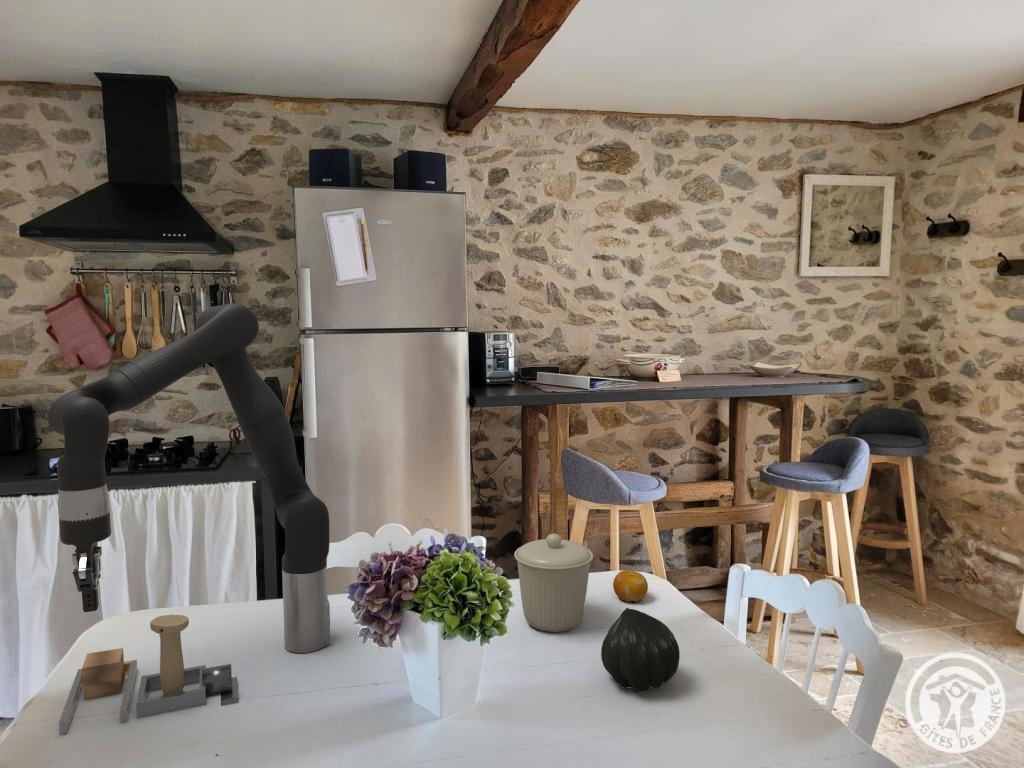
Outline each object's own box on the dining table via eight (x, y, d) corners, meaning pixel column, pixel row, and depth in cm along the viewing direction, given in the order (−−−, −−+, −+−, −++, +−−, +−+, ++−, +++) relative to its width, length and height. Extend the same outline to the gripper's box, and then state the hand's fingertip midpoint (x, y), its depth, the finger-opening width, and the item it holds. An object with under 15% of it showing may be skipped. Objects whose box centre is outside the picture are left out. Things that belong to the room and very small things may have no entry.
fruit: (639, 596, 172) (635, 563, 176) (608, 601, 176) (605, 569, 180) (655, 602, 178) (651, 570, 181) (624, 607, 182) (621, 575, 186)
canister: (596, 641, 156) (597, 547, 154) (513, 640, 156) (513, 547, 154) (588, 606, 174) (589, 522, 172) (514, 606, 174) (514, 522, 172)
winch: (236, 679, 140) (235, 652, 139) (238, 705, 131) (237, 676, 130) (142, 696, 133) (141, 668, 133) (137, 725, 124) (136, 695, 124)
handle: (181, 707, 128) (177, 627, 126) (148, 704, 129) (144, 625, 127) (197, 693, 133) (193, 615, 131) (165, 690, 134) (161, 613, 132)
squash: (703, 670, 133) (671, 593, 140) (634, 690, 127) (604, 608, 135) (670, 690, 143) (641, 617, 151) (605, 709, 138) (579, 632, 146)
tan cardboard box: (125, 677, 138) (123, 647, 137) (121, 692, 132) (120, 661, 132) (88, 683, 135) (86, 653, 135) (83, 699, 130) (81, 668, 129)
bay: (137, 676, 141) (136, 659, 140) (127, 728, 123) (126, 709, 123) (79, 686, 137) (78, 669, 136) (60, 742, 119) (58, 722, 119)
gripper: (104, 520, 117) (110, 621, 119) (114, 500, 129) (120, 592, 131) (50, 525, 114) (58, 629, 116) (66, 504, 126) (72, 599, 128)
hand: (91, 609), depth 123 cm, fingers closed
